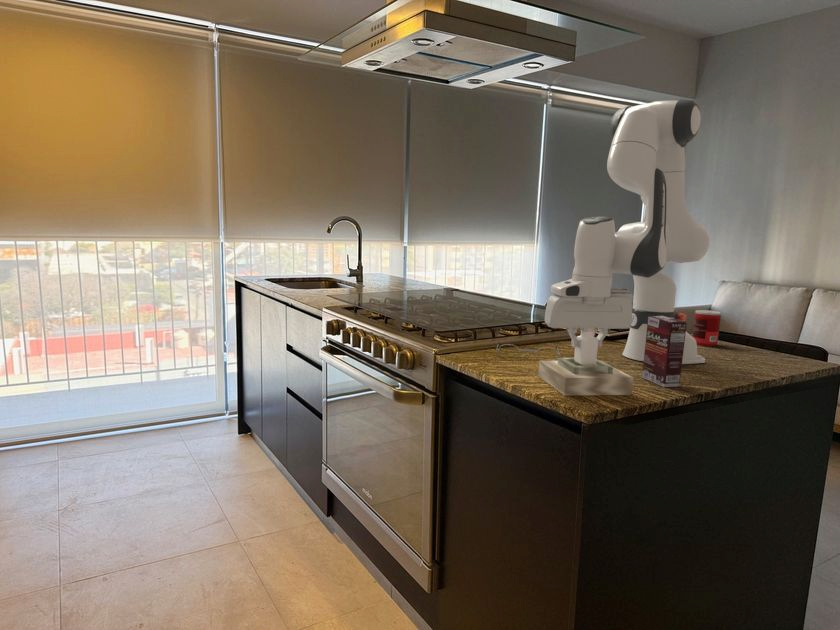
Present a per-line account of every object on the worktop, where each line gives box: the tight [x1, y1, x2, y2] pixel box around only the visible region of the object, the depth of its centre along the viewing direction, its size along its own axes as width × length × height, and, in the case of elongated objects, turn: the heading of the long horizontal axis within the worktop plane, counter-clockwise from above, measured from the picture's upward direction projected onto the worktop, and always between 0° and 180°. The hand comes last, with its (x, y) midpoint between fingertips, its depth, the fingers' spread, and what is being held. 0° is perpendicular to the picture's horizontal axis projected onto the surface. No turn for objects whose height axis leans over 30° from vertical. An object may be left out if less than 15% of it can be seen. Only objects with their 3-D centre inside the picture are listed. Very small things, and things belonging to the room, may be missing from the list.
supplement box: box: [641, 316, 688, 388], centre depth 141 cm, size 9×5×16 cm, turn 16°
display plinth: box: [538, 357, 634, 397], centre depth 136 cm, size 16×16×6 cm
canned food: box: [692, 309, 722, 347], centre depth 193 cm, size 8×8×11 cm
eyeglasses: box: [495, 343, 561, 361], centre depth 171 cm, size 18×19×4 cm
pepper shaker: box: [573, 328, 599, 365], centre depth 135 cm, size 4×4×10 cm
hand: (586, 346), depth 135 cm, fingers closed on pepper shaker, 4 cm apart
